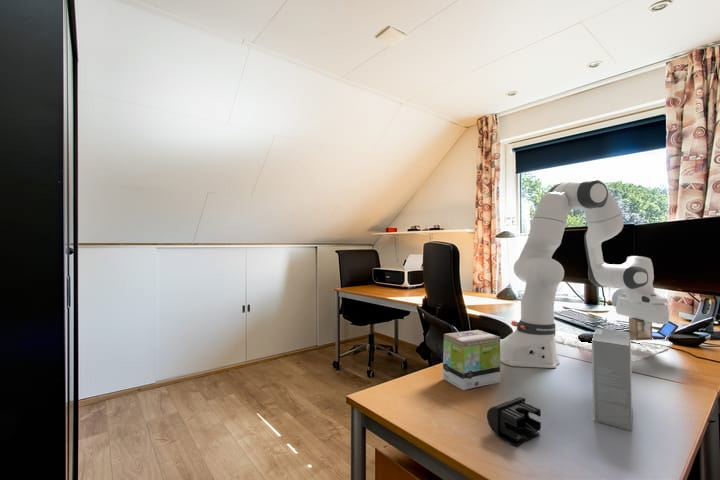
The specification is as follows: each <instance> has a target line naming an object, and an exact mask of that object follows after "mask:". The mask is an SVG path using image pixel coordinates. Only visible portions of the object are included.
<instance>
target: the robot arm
mask: <svg viewBox="0 0 720 480" xmlns="http://www.w3.org/2000/svg"><path fill="white" fill-rule="evenodd" d="M573 210H574V211H576V210H577V211H578V210H579V211H580V210H582V211H583V212H584V213H583V214H584V217H585V220H586V223H587V230H586V231H585V233H584V237H583V240H584V250H585V253H586V254H585V255H586V260H587V266H588V267H587V268H588V270H587V271H588V272H587V276H588V280H589V281H590V283H591V284H593V286H595V287H597V288H612V289H621V290H623V289H624V290H625V293H624V292H620V293H618V295H617V299H616V303H615V312H616V314H617V315H621V316H625V317H628V320H629V319H634V318H636V319H640V320H644V323H646V324H645V326H644V327H642V331H644V332H649V331H650V329H649V328H650V326H651V325H652V326H653V323H654V324H658V325H664V324H667V323H668V321H670V313H669V307H668V306H667V304H668V301H669V300H668V298H667V297H665V296H663V295H661V294H659V293H657V292H655V288H654V285H653V283H654V280H655V279H654V278H655V275H654V265H653V262H652V259H651V258H649V257H647V256H641V255H640V256H639V255H630V256H627V257H626V261H625V262H623V263H621V264H615V263H613V264H610V263H607V262H605V261H604V256H603V251H602V243H603V242H605V241H608V240H610V239H613V238H614V237H615V236H617V235H619V233H621V232H622V230H623V228H624V218H623V216H622V212H621V210H620V208H619V204H618V203H617V201H616V199H615V197H614V196H613V193H611V192H610V191H609V190H608V188H607V186H606V184H605V183H604V182H603V181H601V180H599V179H593V178H591V179H589V178H588V179H585V180H583V179H582V180H571V181H568V182H567V181H566V182H561V183H559V184H558V183H557V184H556V185H554V186H553V187H551V188H550V189H549V191H548V192H547V193H544V194H543V195H542V196H541V197H540V199H539V201H538V204H537V206H536V209H535V211H534V215H533V217H532V221H531V222H532V223H531V226H530V230H529V234H528V237H527V240H526V243H525V244H524V246H523V248H522V250H521V252H520V254H519V257H518V259H517V260H516V261H515V263H514V264H513V272H514V274H515V276H516V277H517V278H518V279H519V280H520V281H522V282H524V283H525V288H524V293H523V296H522V297H521V299H520V319H519V321H516V320H511V322H510V325H512V326H513V327H515V328H516V330H514V331H513V332H511V333H510V334H509V335H507V336H506V337H504V338H503V339H502V340H501V341H500V363H503V364H505V365H507V366H511V367H526V368H541V369H542V368H546V369H547V368H548V369H549V368H550V369H556V367H557V366H558V365H559V364H560V359H559V356H558V351H557V345H556V342H555V333H556V331H557V329H556V323H555V299H556V295H557V291H558V289H559V288H558V287H559V285H560V283H561V282H562V281H563V280H564V277H565V269H564V267H563V265H562V264H561V263H560V262H559V261H557V260H556V259H553V258H552V257H553V255H554V253H555V252H556V250H557V249H558V248H559V247H560V245H561V244H562V239H563V236H564V234H565V233H564V232H565V229H566V225H567V221H568V215H569V212H570V211H573Z"/></svg>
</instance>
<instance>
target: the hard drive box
mask: <svg viewBox="0 0 720 480" xmlns="http://www.w3.org/2000/svg"><path fill="white" fill-rule="evenodd" d="M593 332H594V335H593V338H592V341H591V342H592V351H591V372H592V373H591V375H592V377H591V379H592V420H593V421H594V422H597V423H600V424H605V425H608V426H612V427H616V428H620V429H623V430H627V431H630V432H631V431H632V429H633V427H632V426H633V424H632V423H633V422H632V421H633V381H632V375H633V374H632V362H631V340H632V339H630V333H629V331H625V330H615V329H609V328H601V327H596V328H595V330H594V331H593Z"/></svg>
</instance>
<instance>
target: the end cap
mask: <svg viewBox="0 0 720 480" xmlns="http://www.w3.org/2000/svg"><path fill="white" fill-rule="evenodd" d="M541 412H542V411H541V408H538V407H536V406H534V405H531V404H529V403H527V402H526V398H525V397H522V396H521V397H520V396H519V397H516V398H513V399H510V400H508V401H505V402H502V403H500V404H497V405H494V406H492V407H490V408H489V409H488V410H487V413H486V420H487V424H488V425H489V428H490V429H491V431H492V432H493V433H494V434H495V435H496V437H498V439H500V440H502V441H503V442H505V443H506V444H508V445H511V446H512V447H514V448H518V447H520V446H522V445H524V444H526V443H528V442H531V441H532V440H534V439H536V438H539V437H541V435H540V434H541V432H540V430H541V427H542V426H541V425H542V424H541V423H542V422H541V421H539V420H538V419H535V418H533V417H531V416H530V414H531V415H535V416H536V417H539V418H540V417H541V415H542V414H541ZM529 413H530V414H529Z"/></svg>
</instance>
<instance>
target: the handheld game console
mask: <svg viewBox="0 0 720 480" xmlns="http://www.w3.org/2000/svg"><path fill="white" fill-rule="evenodd" d="M678 329H679V325H678V324H676V323H673V321H670V320H669V321H668V323H667V324H662V326H661V327H660V328H659V330H657V331H652V338H653V339H652V340H657V339H665V337H666V336H668V335H670V334H673V335H674V334H675V332H676V331H677V330H678Z"/></svg>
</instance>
